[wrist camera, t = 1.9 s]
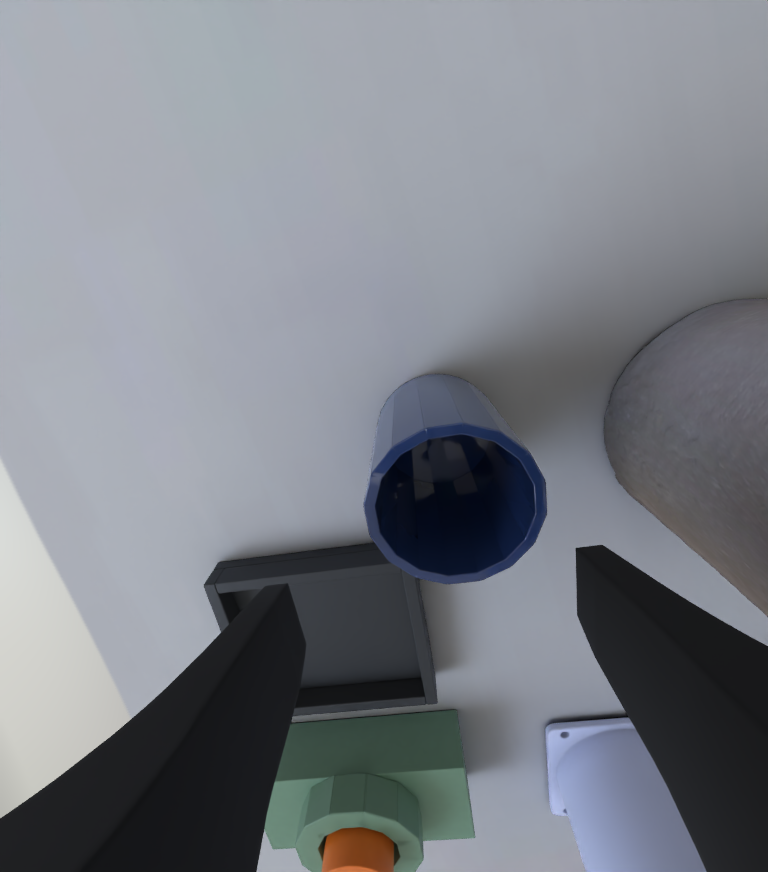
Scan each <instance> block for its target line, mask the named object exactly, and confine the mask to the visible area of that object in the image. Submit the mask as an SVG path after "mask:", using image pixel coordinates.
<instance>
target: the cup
mask: <svg viewBox="0 0 768 872" xmlns="http://www.w3.org/2000/svg"><path fill="white" fill-rule="evenodd" d="M363 507H364V512H365V516H366V521H367V526H368V531H369V535H370V537H371V538H372V540H373V541H374V542H375V544H376V545H377V546H378V548H379V549H380V550H381V552H382V553H383V555H384V556H385V557H386V559H387V560H388V561H389V562H391V563H392V564H394V565H396V566H397V567H399V568H400V569H402V570H404V571H405V572H407V573H408V574H410V575H412V576H413V577H416V578H419V579H424V580H428V581H433V582H438V583H442V584H457V583H466V582H475V581H480V580H484V579H486V578H488V577H490V576H492V575H495V574H497V573H499V572H501V571H503V570H505V569H507V568H510V567H511V566H513V565H514V564H515V563H516V562H517V561H518V560H519V559H520V558H521V557H522V556H523V555H524V554H525V553H526V552H527V551H528V550H529V549H530V548H531V547H532V546H533V545H534V543H535V542H536V539H537V537H538V534H539V532H540V530H541V527H542V525H543V522H544V520H545V518H546V515H547V498H546V482H545V479H544V477H543V475H542V473H541V472H540V470H539V468H538V466H537V464H536V462H535V461H534V459H533V457H532V455H531V453H530V452H529V451H528V449H527V448H526V447H525V446H524V444H523V443H522V442H521V440H520V439H519V438H518V437H517V435H516V434H515V433H514V432H513V430H512V429H511V428H510V426H509V425H508V424H507V423H506V421H505V420H504V419H503V417H502V416H501V415H500V414H499V412H498V411H497V410H496V408H495V407H494V406H493V405H492V403H491V402H490V401H489V400H488V398H487V397H486V396H485V395H484V394H483V393H482V392H480V390H478V389H477V388H476V387H475V386H474V385H472V384H471V383H469V382H468V381H466V380H463V379H461V378H459V377H455V376H452V375H446V374H430V375H425V376H420V377H417V378H415V379H412V380H410V381H408V382H406V383H405V384H403V385H402V386H400V387H399V388H398V389H397V390H396V391H395V392H393V394H392V395H391V396H390V397H389V398H388V400H387V401H386V403H385V404H384V406H383V408H382V410H381V412H380V416H379V420H378V425H377V429H376V434H375V440H374V446H373V451H372V457H371V463H370V469H369V475H368V480H367V486H366V492H365V498H364V506H363Z"/></svg>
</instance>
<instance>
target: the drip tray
mask: <svg viewBox="0 0 768 872" xmlns="http://www.w3.org/2000/svg"><path fill="white" fill-rule="evenodd" d="M284 583H288V585H289V588H290V592H291V595H292V598H293V601H294V605H295V608H296V611H297V614H298V618H299V621H300V624H301V627H302V631H303V634H304V637H305V640H306V644H307V645H306V652H305V660H304V667H303V673H302V680H301V686H300V690H299V694H298V698H297V701H296V705H295V709H294V713H293V716H300V715H311V714H323V713H334V712H346V711H357V710H369V709H381V708H392V707H404V706H415V705H425V704H426V703H427V704H437V702H438V701H437V690H436V679H435V671H434V665H433V659H432V653H431V648H430V642H429V636H428V630H427V624H426V619H425V613H424V607H423V601H422V596H421V590H420V584H419V578H416V577H413V576H412V575H410V574H408V573H407V572H405V571H404V570H402V569H400V568H399V567H397V566H396V565H394V564H392V563H391V562H389V561H388V560H387V559H386V557H385V556H384V555H383V553H382V552H381V550H380V549H379V548H378V546H377V545H376V544H375V543H372V544H364V545H355V546H347V547H339V548H331V549H323V550H315V551H307V552H299V553H291V554H283V555H275V556H267V557H259V558H251V559H243V560H235V561H227V562H219V563H218V564H217V565H216V567H215V568H214V571H213V572H212V573H211V575H210V576H209V578H208V579H207V581H206V582H205V584H204V588H205V591H206V593H207V596H208V599H209V601H210V604H211V606H212V609H213V612H214V614H215V617H216V619H217V622H218V625H219V627H220V630H221V632H222V631H223V630H224V629H225V628H226V627H227V626H228V625H229V624H230V623H231V622H232V621H233V619H234V618H235V617H236V616H237V615H238V614H239V613H240V612H241V611H242V610H243V609H244V608H245V606H246V605H247V604H248V603H249V602H250V601H251V600H252V599H253V598H254V597H255V596H256V595H257V594H258V593H259V592H260V591H261V590H262V589H263V588H264V587H265V586H267V585H276V584H284Z"/></svg>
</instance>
